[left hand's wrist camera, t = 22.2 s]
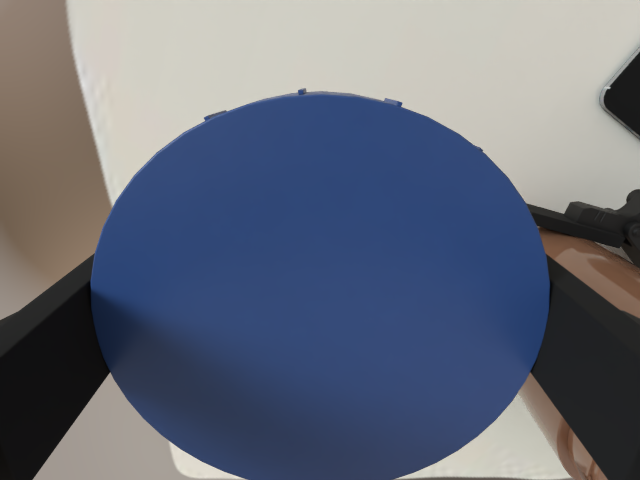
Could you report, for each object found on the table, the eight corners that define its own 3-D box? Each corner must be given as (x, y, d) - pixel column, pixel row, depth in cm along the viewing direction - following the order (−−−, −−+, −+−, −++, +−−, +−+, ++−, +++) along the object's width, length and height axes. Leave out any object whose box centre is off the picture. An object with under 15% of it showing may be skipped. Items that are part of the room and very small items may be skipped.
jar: (468, 192, 32) (665, 347, 14) (584, 215, 32) (922, 392, 14) (431, 298, 36) (546, 532, 17) (536, 316, 36) (754, 560, 18)
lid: (521, 392, 14) (561, 453, 11) (210, 453, 15) (191, 519, 12) (489, 35, 10) (540, 21, 7) (61, 155, 11) (-7, 175, 8)
